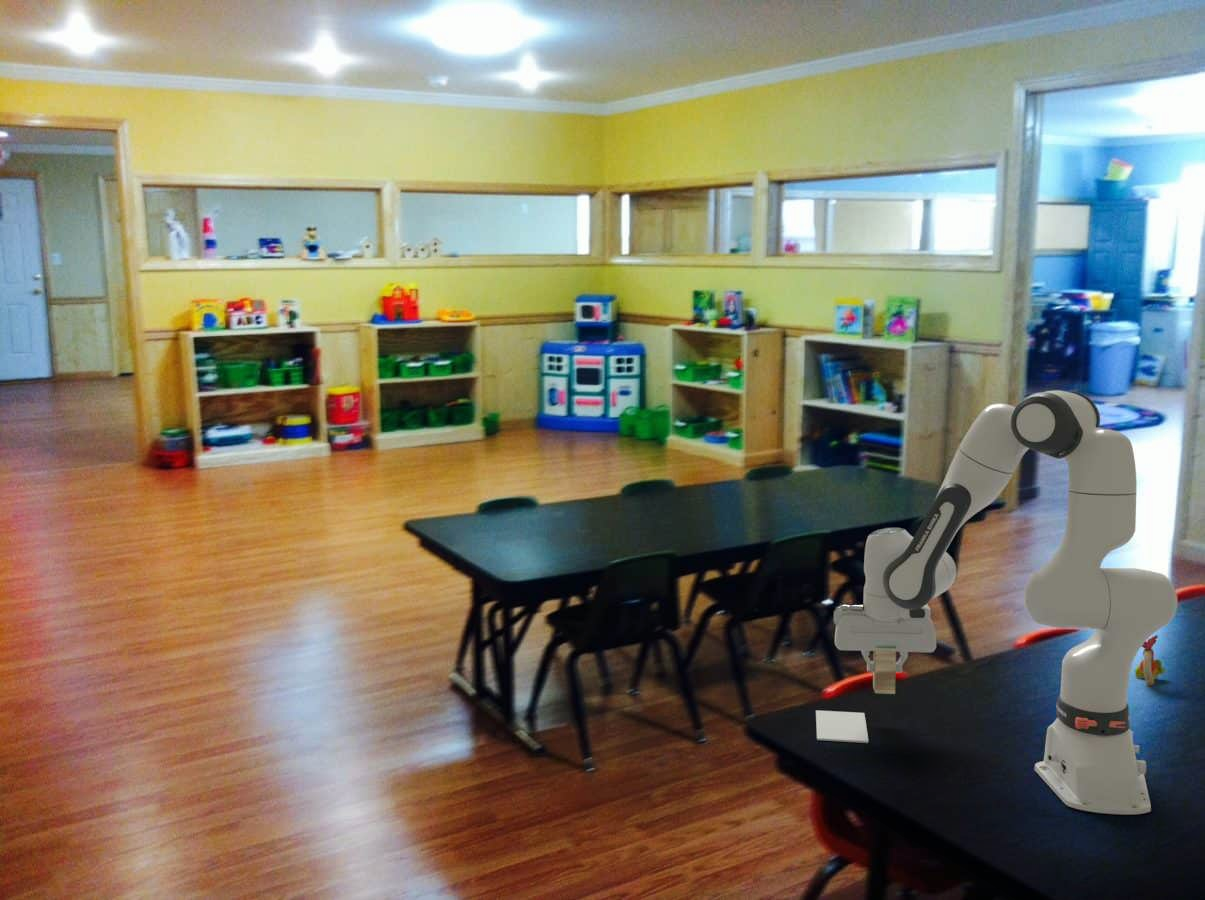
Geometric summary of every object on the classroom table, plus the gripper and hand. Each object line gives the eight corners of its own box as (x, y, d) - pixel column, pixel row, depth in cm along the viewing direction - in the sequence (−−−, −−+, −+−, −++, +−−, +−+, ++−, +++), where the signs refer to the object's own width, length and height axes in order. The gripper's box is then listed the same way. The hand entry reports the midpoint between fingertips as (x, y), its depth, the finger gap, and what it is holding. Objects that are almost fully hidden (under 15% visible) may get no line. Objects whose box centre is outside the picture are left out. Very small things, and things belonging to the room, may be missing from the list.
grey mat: (868, 743, 216) (868, 741, 216) (816, 740, 217) (816, 738, 217) (864, 714, 229) (864, 712, 229) (815, 712, 231) (815, 710, 231)
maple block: (895, 693, 224) (896, 646, 222) (875, 693, 224) (875, 646, 223) (892, 687, 228) (893, 640, 226) (873, 686, 228) (873, 640, 227)
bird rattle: (1164, 696, 242) (1165, 668, 248) (1168, 658, 236) (1168, 631, 243) (1133, 692, 244) (1134, 664, 251) (1135, 655, 239) (1136, 627, 246)
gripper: (834, 608, 222) (834, 674, 224) (938, 610, 219) (937, 677, 221) (832, 600, 228) (831, 664, 230) (933, 602, 225) (932, 667, 227)
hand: (884, 671), depth 225 cm, fingers closed on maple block, 4 cm apart
